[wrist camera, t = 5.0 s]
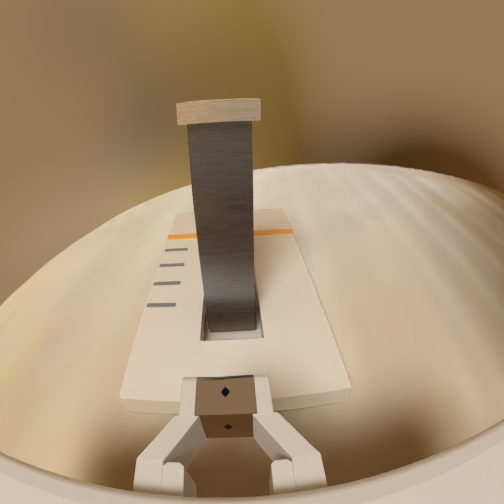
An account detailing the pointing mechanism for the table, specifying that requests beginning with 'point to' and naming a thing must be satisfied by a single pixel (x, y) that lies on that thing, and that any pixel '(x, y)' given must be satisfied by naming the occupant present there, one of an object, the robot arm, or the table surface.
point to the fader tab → (223, 205)
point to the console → (243, 350)
